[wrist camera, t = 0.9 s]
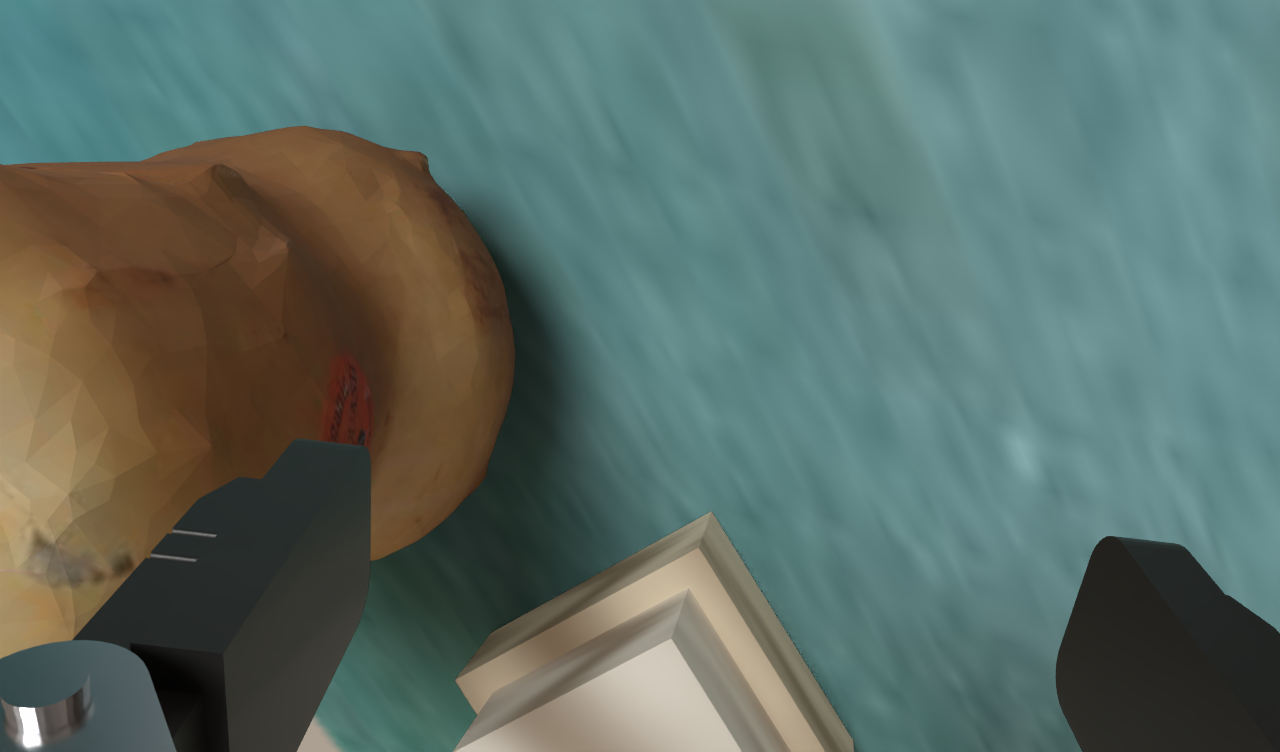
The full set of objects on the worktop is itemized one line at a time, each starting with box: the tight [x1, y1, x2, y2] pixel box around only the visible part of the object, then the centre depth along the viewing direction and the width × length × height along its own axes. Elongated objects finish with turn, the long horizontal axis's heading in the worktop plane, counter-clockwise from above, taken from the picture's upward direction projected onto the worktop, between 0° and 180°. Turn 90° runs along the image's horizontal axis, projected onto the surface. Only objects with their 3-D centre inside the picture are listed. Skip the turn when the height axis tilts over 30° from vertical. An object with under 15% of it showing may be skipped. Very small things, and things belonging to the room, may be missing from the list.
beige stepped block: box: [453, 511, 854, 752], centre depth 34 cm, size 10×10×8 cm
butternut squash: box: [0, 126, 515, 659], centre depth 25 cm, size 14×13×25 cm
